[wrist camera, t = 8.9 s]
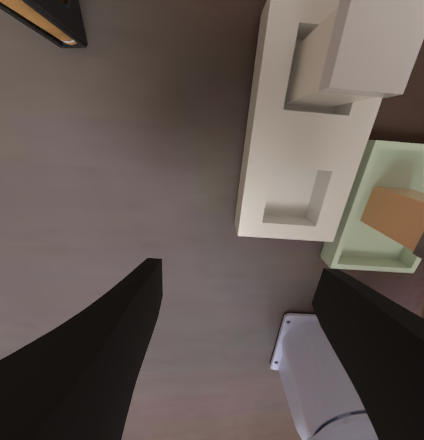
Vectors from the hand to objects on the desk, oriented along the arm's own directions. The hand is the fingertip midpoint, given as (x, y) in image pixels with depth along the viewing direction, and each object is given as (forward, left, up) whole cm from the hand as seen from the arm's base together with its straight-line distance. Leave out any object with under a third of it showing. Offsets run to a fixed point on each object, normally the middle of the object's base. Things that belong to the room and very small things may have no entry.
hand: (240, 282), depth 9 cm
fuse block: (+6, -5, -10) cm, 13 cm away
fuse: (+10, -5, -10) cm, 15 cm away
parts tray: (+1, -14, -10) cm, 17 cm away
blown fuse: (+1, -14, -10) cm, 17 cm away
